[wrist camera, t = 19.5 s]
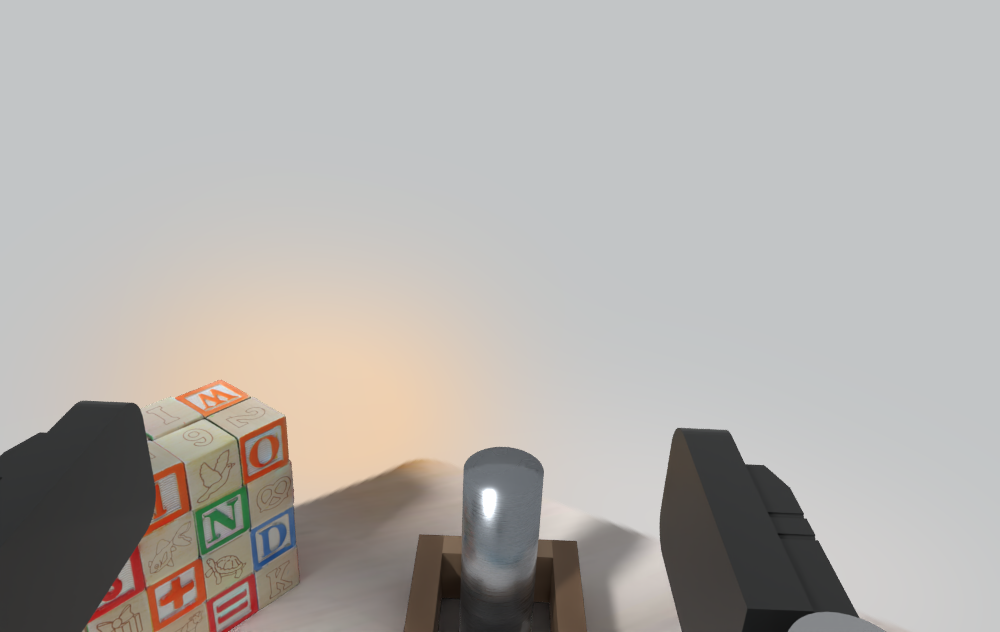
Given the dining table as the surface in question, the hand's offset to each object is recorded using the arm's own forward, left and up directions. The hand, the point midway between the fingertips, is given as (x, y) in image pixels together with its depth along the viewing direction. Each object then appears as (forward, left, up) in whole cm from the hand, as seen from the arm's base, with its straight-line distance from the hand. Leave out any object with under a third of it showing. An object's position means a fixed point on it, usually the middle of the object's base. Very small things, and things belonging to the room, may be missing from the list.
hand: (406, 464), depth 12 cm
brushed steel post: (+2, +22, -28) cm, 36 cm away
